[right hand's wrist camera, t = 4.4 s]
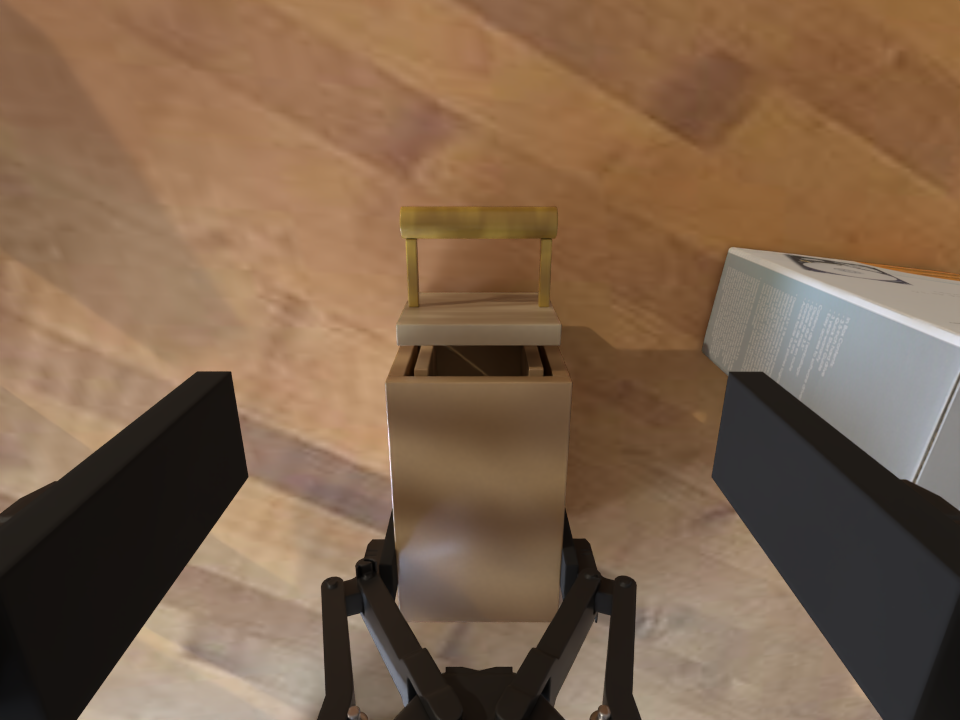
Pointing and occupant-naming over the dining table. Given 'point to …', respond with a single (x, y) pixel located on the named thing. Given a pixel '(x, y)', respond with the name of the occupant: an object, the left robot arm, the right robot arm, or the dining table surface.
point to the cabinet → (478, 490)
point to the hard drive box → (852, 352)
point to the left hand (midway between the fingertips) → (478, 515)
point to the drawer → (478, 298)
